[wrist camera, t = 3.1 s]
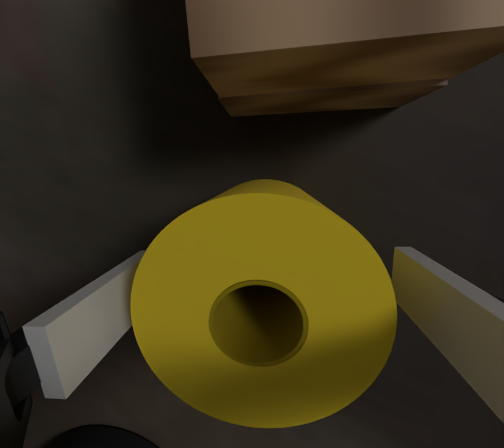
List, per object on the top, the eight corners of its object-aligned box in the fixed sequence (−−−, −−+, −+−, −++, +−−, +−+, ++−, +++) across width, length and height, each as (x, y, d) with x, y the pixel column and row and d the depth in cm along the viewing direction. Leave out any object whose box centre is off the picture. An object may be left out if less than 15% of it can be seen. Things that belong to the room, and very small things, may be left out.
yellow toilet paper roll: (305, 157, 16) (348, 144, 7) (348, 281, 18) (426, 396, 9) (179, 209, 18) (83, 252, 9) (230, 318, 20) (196, 448, 11)
